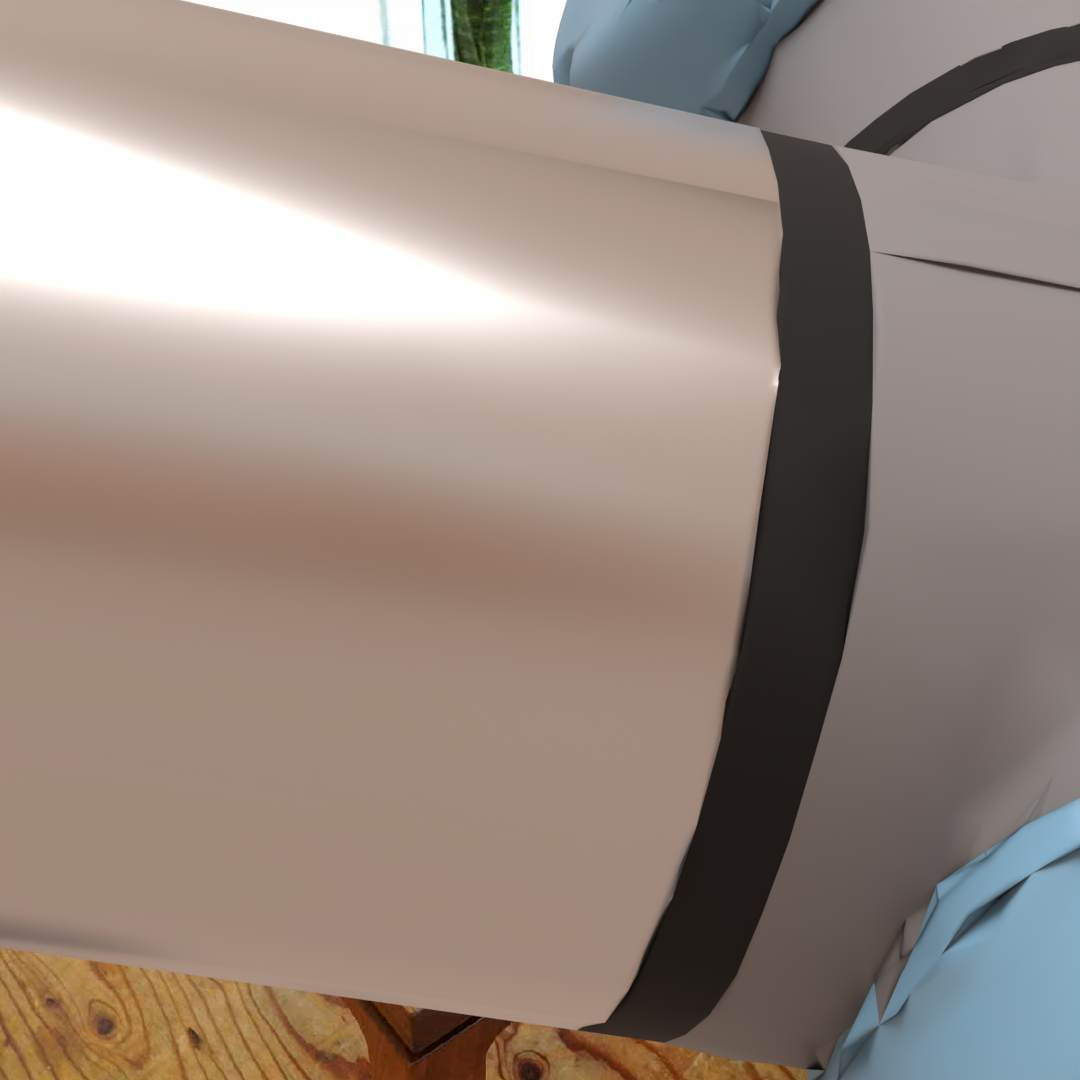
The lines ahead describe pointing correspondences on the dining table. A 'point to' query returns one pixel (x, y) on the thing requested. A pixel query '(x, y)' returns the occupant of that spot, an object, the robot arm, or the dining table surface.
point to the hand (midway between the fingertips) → (638, 560)
